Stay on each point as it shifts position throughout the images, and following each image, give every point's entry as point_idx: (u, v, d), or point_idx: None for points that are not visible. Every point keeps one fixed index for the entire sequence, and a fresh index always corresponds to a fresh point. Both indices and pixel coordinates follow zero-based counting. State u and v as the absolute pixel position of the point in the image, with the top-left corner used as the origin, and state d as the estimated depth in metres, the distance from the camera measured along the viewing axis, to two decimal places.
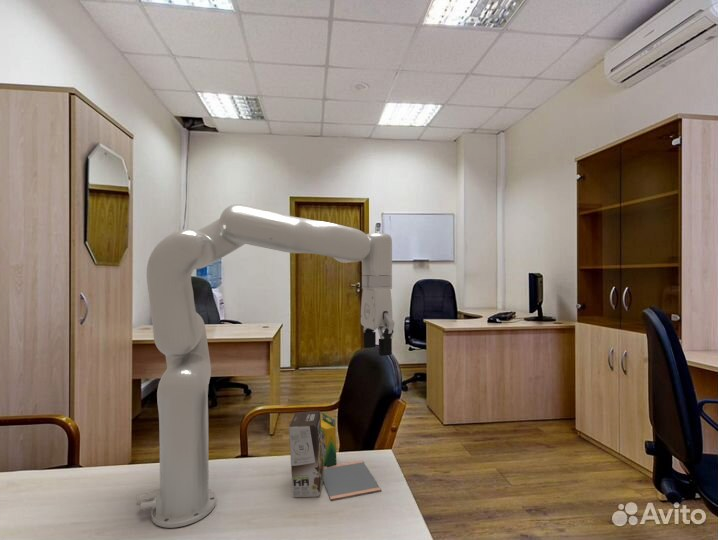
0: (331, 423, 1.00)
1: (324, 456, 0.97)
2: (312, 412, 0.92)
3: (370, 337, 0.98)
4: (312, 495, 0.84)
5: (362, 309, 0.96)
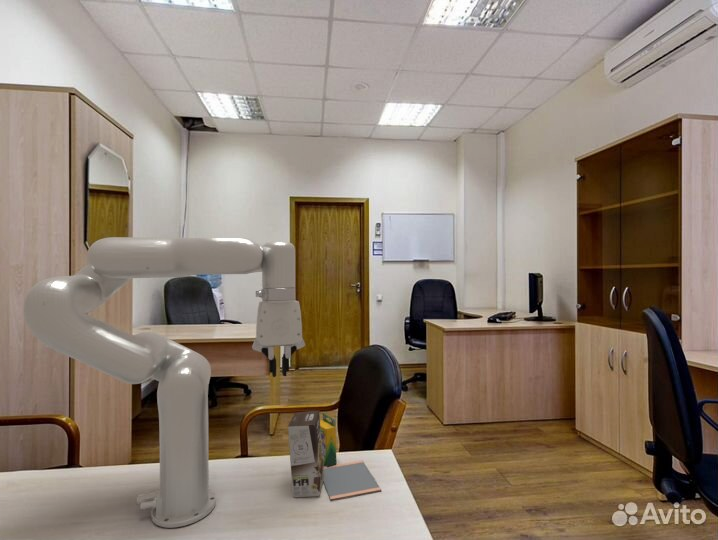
0: (331, 423, 1.00)
1: (324, 456, 0.97)
2: (312, 412, 0.92)
3: None
4: (312, 495, 0.84)
5: (264, 327, 0.83)
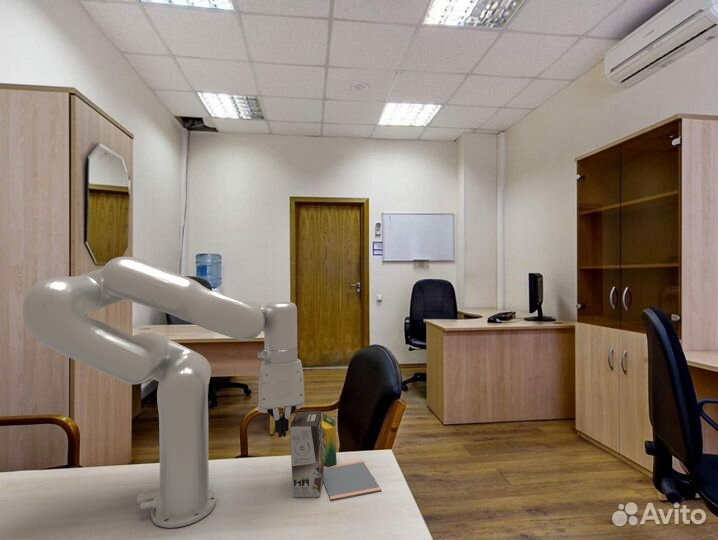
0: (331, 423, 1.00)
1: (324, 456, 0.97)
2: (313, 412, 0.92)
3: None
4: (312, 495, 0.84)
5: (267, 389, 0.83)
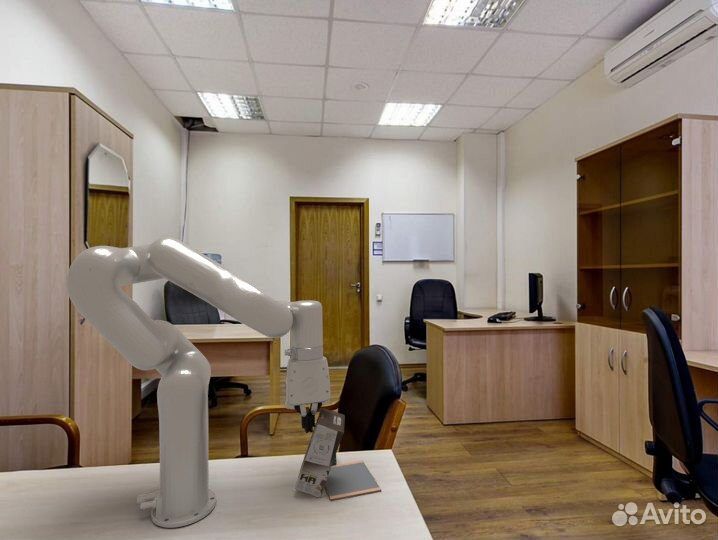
0: None
1: None
2: (338, 414, 0.91)
3: None
4: (313, 494, 0.84)
5: (294, 386, 0.85)
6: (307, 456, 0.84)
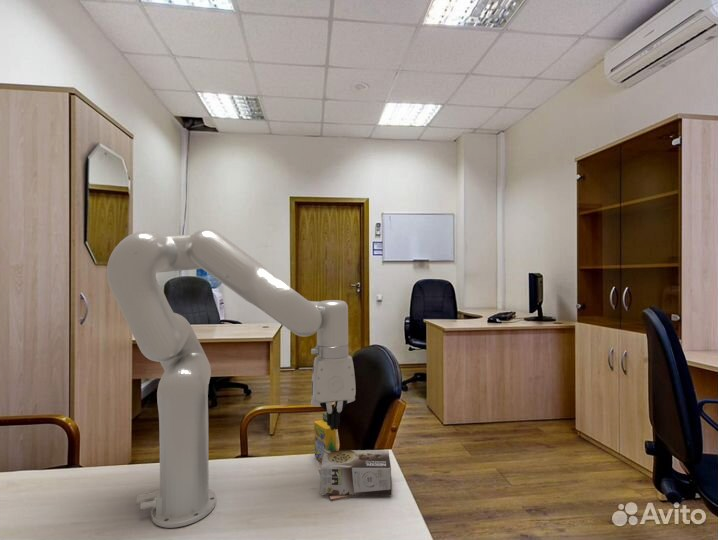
0: None
1: None
2: None
3: None
4: (321, 487, 0.84)
5: (321, 384, 0.87)
6: (356, 468, 0.84)
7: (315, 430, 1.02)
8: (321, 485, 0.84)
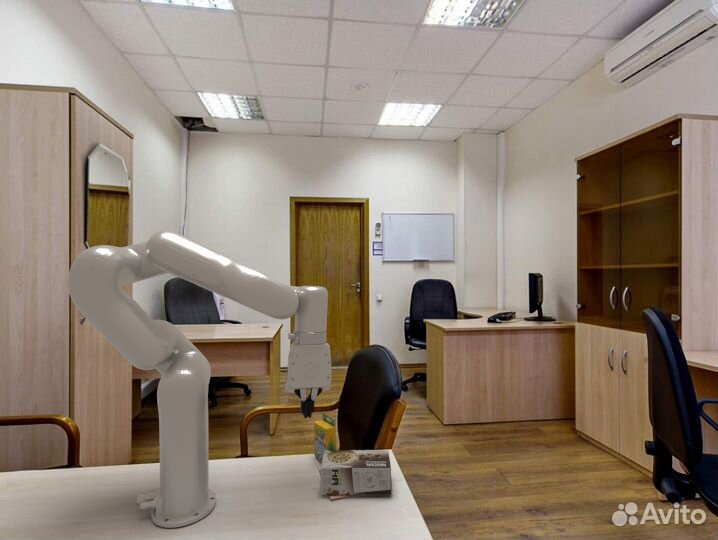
0: (331, 423, 1.00)
1: None
2: None
3: None
4: (321, 488, 0.84)
5: (296, 370, 0.85)
6: (356, 469, 0.84)
7: (315, 430, 1.02)
8: (321, 485, 0.84)
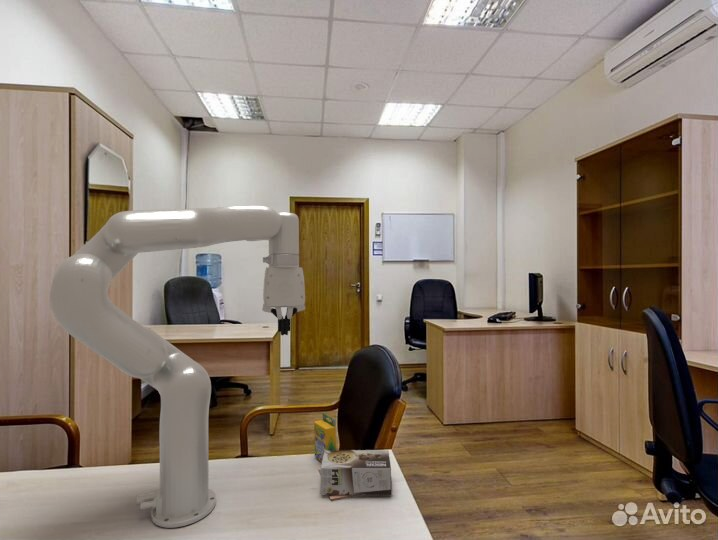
0: (331, 423, 1.00)
1: None
2: None
3: (283, 323, 0.95)
4: (321, 488, 0.84)
5: (271, 289, 0.91)
6: (356, 469, 0.84)
7: (315, 430, 1.02)
8: (321, 485, 0.84)
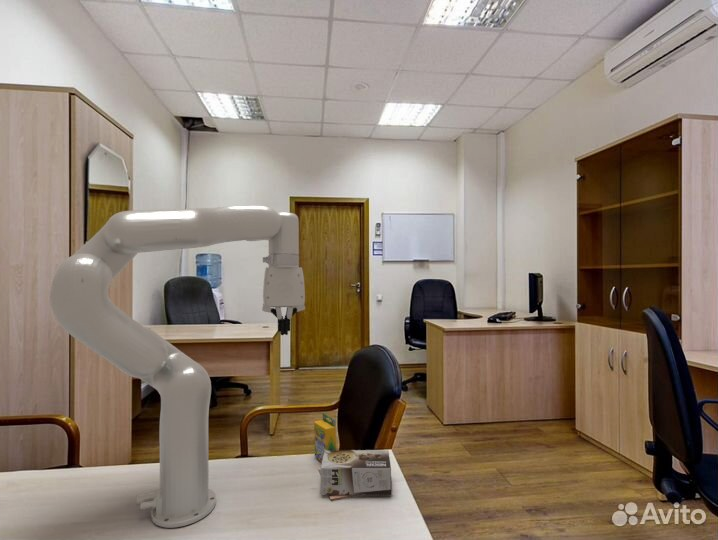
0: (331, 423, 1.00)
1: None
2: None
3: None
4: (321, 488, 0.84)
5: (270, 289, 0.91)
6: (356, 469, 0.84)
7: (315, 430, 1.02)
8: (321, 485, 0.84)
